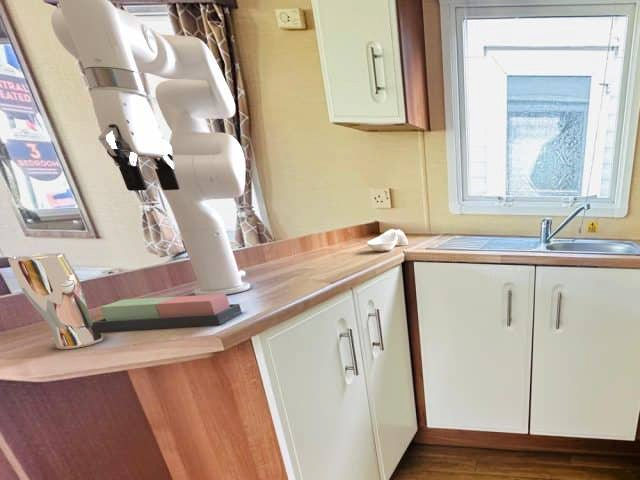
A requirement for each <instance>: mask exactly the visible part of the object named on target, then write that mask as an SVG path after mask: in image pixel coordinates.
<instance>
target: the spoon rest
mask: <svg viewBox="0 0 640 480" xmlns="http://www.w3.org/2000/svg"><path fill="white" fill-rule="evenodd" d="M366 244H367V246H368V247H369V248H370V249H372V250H374V251H375V252H378V253H379V252H381V253H383V252H389V251H392V250H393V248H395V246H396V245H400V246H401V245H402V246H403V245H409V242H408V239H407V237H406V235H405V233H404V231H402V230H401V229H389V230H387V231H385V232H384V233H382V234H381V235H379V236H376V237H375V238H372V239H370V240H369V241H367V242H366Z"/></svg>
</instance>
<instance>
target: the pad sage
mask: <svg viewBox="0 0 640 480" xmlns="http://www.w3.org/2000/svg"><path fill="white" fill-rule="evenodd" d="M173 297H174V296H163V297H161V296H159V297H144V298H127V299H126V298H125V299H120V300H117V301H114V302H111V303H108V304H105V305H102V306H99V309H100V311H101V313H102V315H103V317H104V318H105V319H106V321H115V320H132V319H149V318H161V316H160V313H159V311H158V308H157V306H156V304H157V303H160V302H163V301H165V300H168V299H171V298H173Z"/></svg>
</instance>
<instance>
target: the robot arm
mask: <svg viewBox="0 0 640 480" xmlns="http://www.w3.org/2000/svg"><path fill="white" fill-rule="evenodd" d="M57 1H58V5H59V8H56V9H54V10H53V11H52V14H51V17H50V20H51V21H50V22H51V27H52V31H53V32H54V34H55V37H56V39H57V40H58V41H59V43H60V44H61V45H62V47H63V48H64V49H65V50H66V51H67V52H68V53H69V55H71V56H73V57H74V58H75V59H76V60H79V61H80V62H81V66H82V69H83V70H84V73H85V75H86V78H87V81H88V83H89V86H90V89H91V90H90V94H91V101H92V106H93V109H94V113H95V117H96V121H97V124H98V127H99V130H100V132H101V134H100V135H99V136H98V140H99V142H100V143H101V144H102V146H103V147H104V149H105V150H106V153H107V155H108V156H109V157H110V158H111V159H112V160H113V163H114V165H115V166H116V167H118V169H119V172H120V175H121V177H122V179H123V183H124V185H125V186H126V190H128V191H129V192H132V191H133V192H135V191H136V192H137V191H138V192H139V191H147V190H148V186H147V184H146V181H145V179H144V175H143V173H142V170H141V168H140V166H139V165H136V163H137V158H142V159H143V158H147V157H148V159H149V160H150V161H151V162H152V163H153V166H152V172H153V175H154V178H155V180H156V182H157V184H158V187H159V188H160V189H161V191H162V194H163V195H164V197H165V199H166V201H167V204H168V205H169V207H170V210H171V212H172V214H173V215H172V216H173V217H174V220H175V222H176V225H177V228H178V231H179V233H180V236H181V237H180V238H181V239H182V242H183V245H184V248H185V251H186V253H187V256H188V259H189V261H190V265H191V268H192V270H193V273H194V275H195V278H196V281H197V284H198V287H197V288H195V289H193V294H194V296H196V295H214V294H226V296H227V295H232V294H237V293H241V292H244V291H247V290H250V289H251V285H250V283H249V282H247V281H246V282H245V281H242V278H245V277H246V271H244V270H242V269H240V270H239V267H238V265H237V261H236V258H235V255H234V252H233V249H232V245H231V242H230V239H229V236H228V233H227V232H228V231H227V229H226V225H225V222H224V220H223V218H222V217H221V215H220V214H219V213H218V212H217V211H216V210H215V209H214V208H212V207H211V206H210V205H209V204H208V203H207V202H206V201H209V200H225V199H226V200H227V199H237V198H240V197H241V196H243V194H244V192H245V187H246V172H247V171H246V169H247V168H246V167H247V166H246V158H245V154H244V151H243V148H242V146H241V143H239V141H238V140H237V138H235V137H234V136H233V135H231V134H230V133H226V132H219V131H218V132H215V131H213V132H211V131H210V130H209V129H208V128H207V127H206V126H205V125H204V124H203V123H201V122H200V121H199V120H201V119H203V120H204V119H205V120H206V119H208V120H209V119H211V120H212V119H213V120H217V119H218V120H220V119H221V120H223V119H225V120H226V119H230V118H233V117H234V116H235V114H236V104H235V100H234V97H233V95H232V92H231V90H230V87H229V86H228V83H227V82H226V79H225V77H224V75H223V73H222V70H221V68H220V66H219V64H218V62H217V60H216V58H215V56H214V55H213V53H212V51H211V50H210V48H209V46H207V44H206V43H205V42H204V41H203V40H202V39H200V38H198V37H196V36H191V35H174V34H173V35H172V34H161V33H159V32H157V31H155V30H154V29H152V28H150V27H149V26H147V25H146V24H145V23H144V21H143V20H141V19H140V18H139V17H138V16H137V15H135V14H133V13H131V12H129V11H127V10H123V9H121V8H119V7H116V6H114V4H113V3H112V2H111V1H110V0H57ZM140 73H142V74H150V75H153V76H156V77H160V78H163V79H167V80H163V81H161V82H159V83H158V84H157V85H156V87H155V93H154V94H155V98H156V102H157V104H158V107H159V111H160V112H161V114H162V117H163V119H164V121H165V123H166V125H167V127H169V130H170V131H171V134H170V139H169V142H167V141H166V140H165V138H164V136H163V133H162V131H161V128H160V126H159V123H158V120H157V119H156V116H155V113H154V112H153V110H152V109H153V108H152V107H151V105H150V103H149V101H148V99H147V93H146V90H145V86H144V84H143V81H142V78H141V76H140ZM198 119H199V120H198Z"/></svg>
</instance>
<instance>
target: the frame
mask: <svg viewBox="0 0 640 480" xmlns="http://www.w3.org/2000/svg"><path fill="white" fill-rule="evenodd" d="M229 305H230V308H228V309H226V310H224V311H222V312H220V313H218V314H216V315H200V316H183V317H166V318H149V319H132V320H115V321H106V319H105V317H104V318H101V319H98V320H96V321H92V323H93V325H94V326H95V328H96V329H97V330H98V332H99V333H112V332H113V333H114V332H128V331H129V332H131V331H145V330H161V329H178V328H180V329H181V328H194V327H195V328H196V327H197V328H198V327H209V326H210V327H212V326H213V327H214V326H221V325H223V324H225V323H227V322H229V321H230V320H232V319H234V318H236V317H238V316H239V315H241V314H243V311H242V308H241V306H240V304H239V303H229Z"/></svg>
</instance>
